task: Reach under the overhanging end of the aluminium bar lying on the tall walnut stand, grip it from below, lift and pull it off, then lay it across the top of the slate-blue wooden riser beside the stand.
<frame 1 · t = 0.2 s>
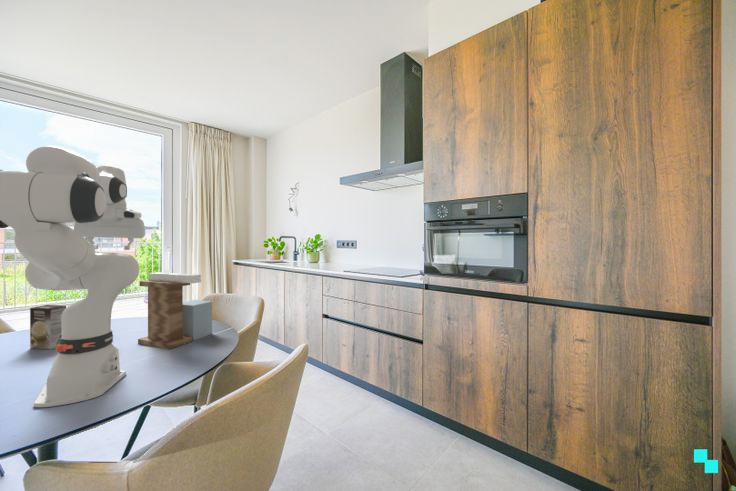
hand: (111, 249, 114), 39 cm above the table, tool pointing down, fingers open, 8 cm apart
aluminium bar: (174, 281, 126), point 26 cm above the table, touching walnut stand
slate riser: (194, 335, 138), on the table
walnut stand: (165, 342, 128), on the table
coffee box: (48, 347, 123), on the table
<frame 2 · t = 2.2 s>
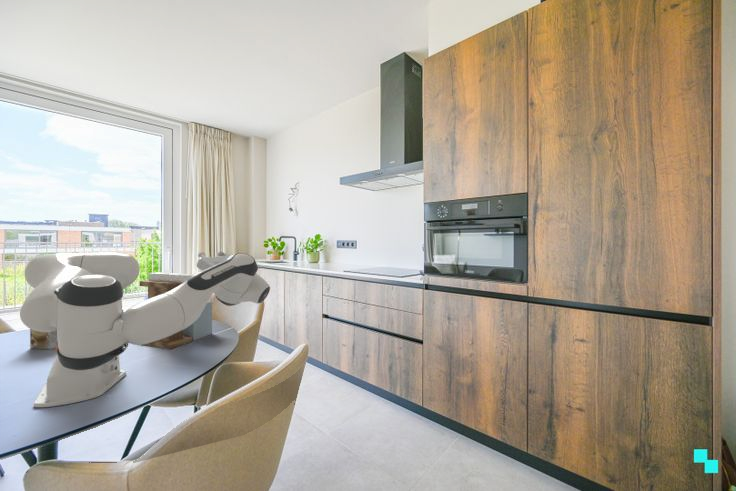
hand: (210, 253, 120), 38 cm above the table, tool pointing upward, fingers open, 8 cm apart
nothing on the table moved.
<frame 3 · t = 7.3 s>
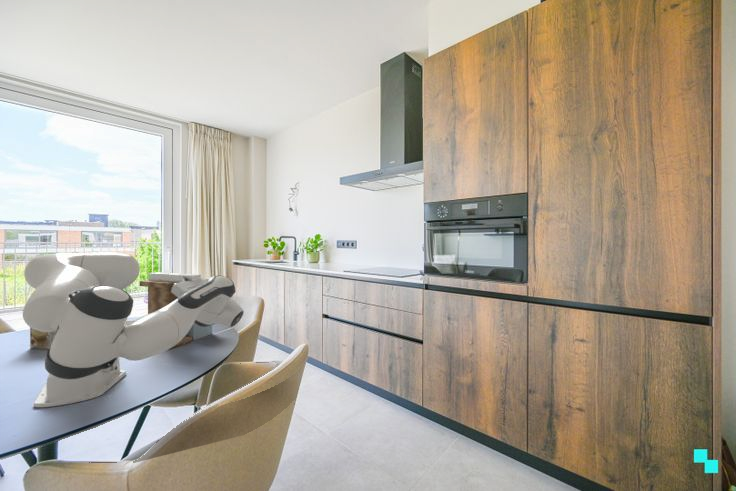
hand: (186, 277, 124), 28 cm above the table, tool pointing upward, fingers closed on aluminium bar, 4 cm apart
aluminium bar: (174, 281, 126), point 26 cm above the table, touching gripper, walnut stand
everything else where it was.
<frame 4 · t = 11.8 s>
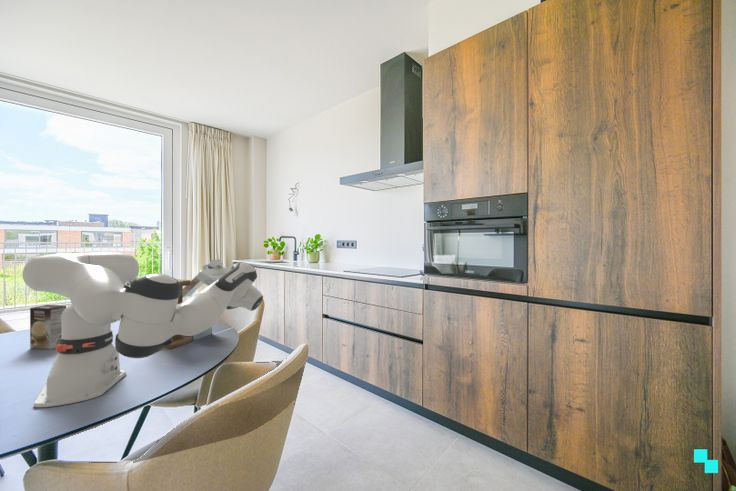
hand: (209, 265, 134), 32 cm above the table, tool pointing upward, fingers closed on aluminium bar, 4 cm apart
aluminium bar: (202, 281, 135), point 25 cm above the table, tilted 38°, touching gripper
everything else where it was.
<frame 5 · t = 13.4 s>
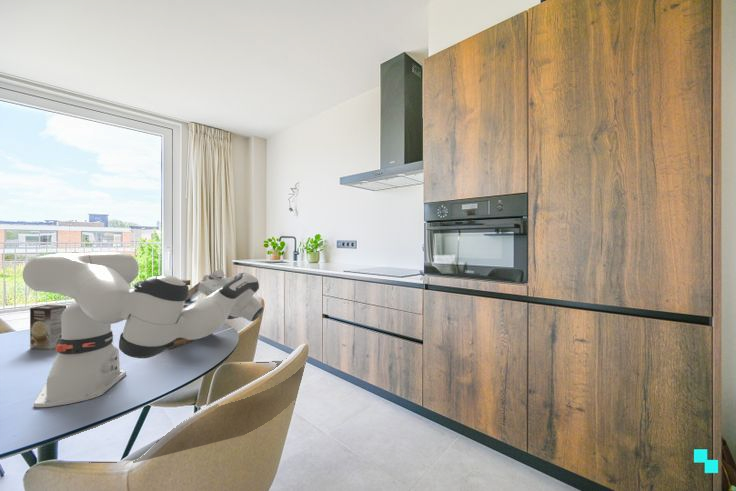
hand: (210, 275, 135), 27 cm above the table, tool pointing upward, fingers closed on aluminium bar, 4 cm apart
aluminium bar: (203, 289, 136), point 21 cm above the table, tilted 32°, touching gripper
everything else where it was.
when the fingers open (19 cm above the table, at t = 15.5 s): aluminium bar stays where it is, resting on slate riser.
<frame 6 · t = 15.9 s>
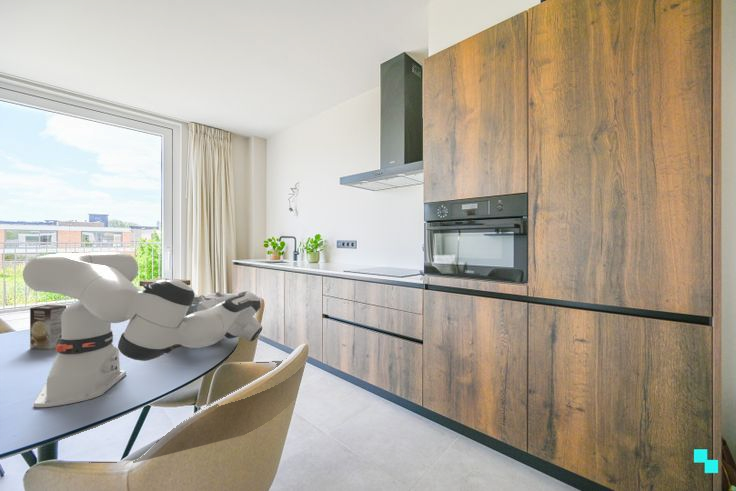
hand: (208, 294, 135), 19 cm above the table, tool pointing upward, fingers open, 8 cm apart
aluminium bar: (199, 302, 137), point 15 cm above the table, touching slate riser
everything else where it was.
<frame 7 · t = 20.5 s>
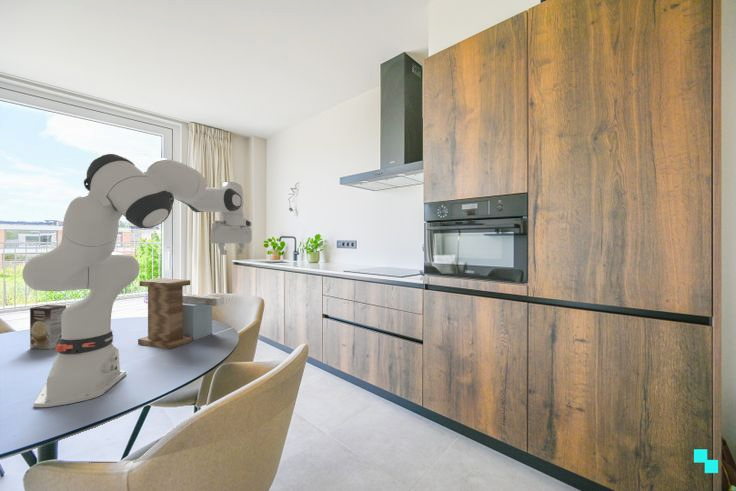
hand: (232, 254, 130), 37 cm above the table, tool pointing down, fingers open, 8 cm apart
nothing on the table moved.
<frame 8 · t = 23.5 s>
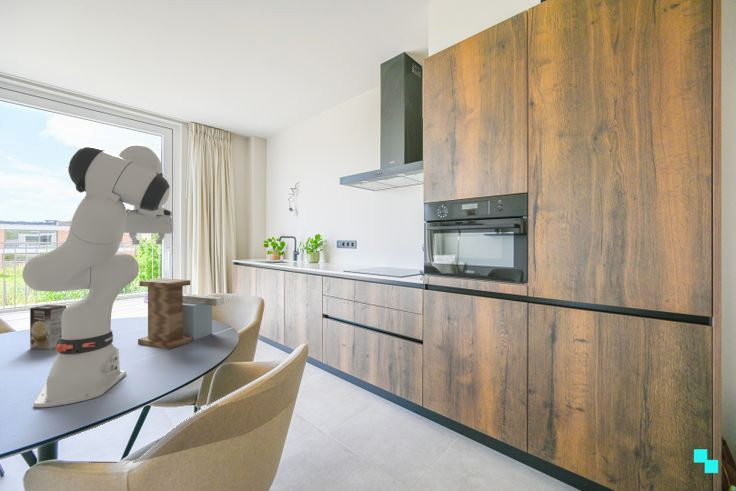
hand: (147, 244, 126), 41 cm above the table, tool pointing down, fingers open, 8 cm apart
nothing on the table moved.
at the end: aluminium bar inside the target area on the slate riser (2.1 cm from its centre), point 15.0 cm above the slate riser's base; aluminium bar touching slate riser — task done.
